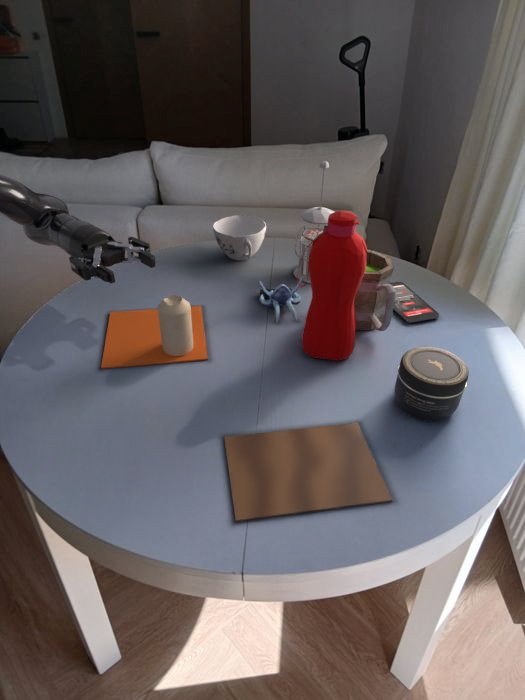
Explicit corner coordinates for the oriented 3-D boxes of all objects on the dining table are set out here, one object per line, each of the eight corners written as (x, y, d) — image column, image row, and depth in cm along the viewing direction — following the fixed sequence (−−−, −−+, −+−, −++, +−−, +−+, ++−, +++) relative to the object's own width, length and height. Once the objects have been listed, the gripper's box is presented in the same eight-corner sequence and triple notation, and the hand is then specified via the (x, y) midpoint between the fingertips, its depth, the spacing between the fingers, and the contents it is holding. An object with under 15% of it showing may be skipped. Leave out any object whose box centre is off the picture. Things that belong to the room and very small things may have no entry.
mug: (320, 307, 101) (325, 253, 94) (366, 298, 104) (374, 245, 97) (359, 349, 89) (368, 291, 82) (409, 338, 92) (422, 281, 85)
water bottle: (296, 329, 94) (304, 200, 79) (354, 336, 92) (373, 206, 78) (289, 358, 86) (297, 221, 72) (352, 365, 85) (373, 227, 70)
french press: (344, 273, 113) (359, 161, 98) (312, 290, 106) (322, 173, 92) (312, 260, 119) (320, 152, 104) (279, 275, 112) (283, 162, 97)
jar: (404, 375, 83) (413, 338, 79) (464, 397, 79) (477, 359, 74) (382, 408, 76) (390, 369, 72) (446, 434, 72) (459, 395, 67)
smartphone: (408, 320, 96) (371, 285, 107) (408, 323, 96) (371, 288, 107) (440, 315, 97) (400, 280, 109) (440, 318, 98) (400, 283, 109)
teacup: (209, 247, 123) (207, 217, 119) (256, 242, 126) (257, 212, 122) (223, 274, 112) (222, 241, 107) (275, 268, 115) (276, 235, 110)
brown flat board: (235, 521, 60) (235, 520, 59) (224, 438, 71) (224, 436, 70) (392, 501, 62) (392, 499, 62) (357, 424, 73) (357, 422, 73)
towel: (101, 368, 83) (100, 367, 83) (110, 313, 98) (110, 312, 97) (207, 359, 86) (207, 358, 86) (201, 307, 100) (201, 305, 100)
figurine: (271, 329, 96) (263, 295, 92) (256, 304, 106) (248, 271, 101) (316, 314, 97) (310, 279, 92) (297, 290, 107) (290, 258, 102)
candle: (160, 356, 86) (154, 307, 80) (164, 338, 90) (158, 290, 84) (192, 356, 86) (188, 307, 80) (194, 338, 90) (191, 290, 84)
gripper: (47, 235, 90) (94, 263, 81) (114, 215, 99) (164, 239, 90) (56, 272, 95) (102, 302, 86) (120, 249, 103) (168, 275, 94)
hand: (134, 270), depth 88 cm, fingers open, 8 cm apart
